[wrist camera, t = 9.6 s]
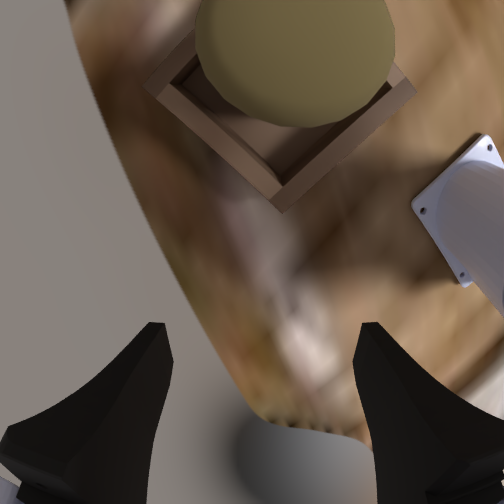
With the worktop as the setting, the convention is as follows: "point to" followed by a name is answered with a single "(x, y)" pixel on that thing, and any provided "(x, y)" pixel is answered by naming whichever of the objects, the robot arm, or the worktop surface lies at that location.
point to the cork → (296, 56)
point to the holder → (268, 127)
